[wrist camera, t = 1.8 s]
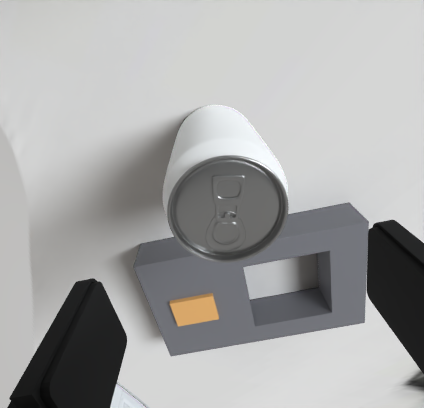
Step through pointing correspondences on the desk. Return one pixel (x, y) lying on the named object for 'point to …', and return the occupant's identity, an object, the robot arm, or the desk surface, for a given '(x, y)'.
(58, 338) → the robot arm
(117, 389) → the photo printer
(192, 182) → the can
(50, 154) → the desk surface
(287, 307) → the grey socket block
